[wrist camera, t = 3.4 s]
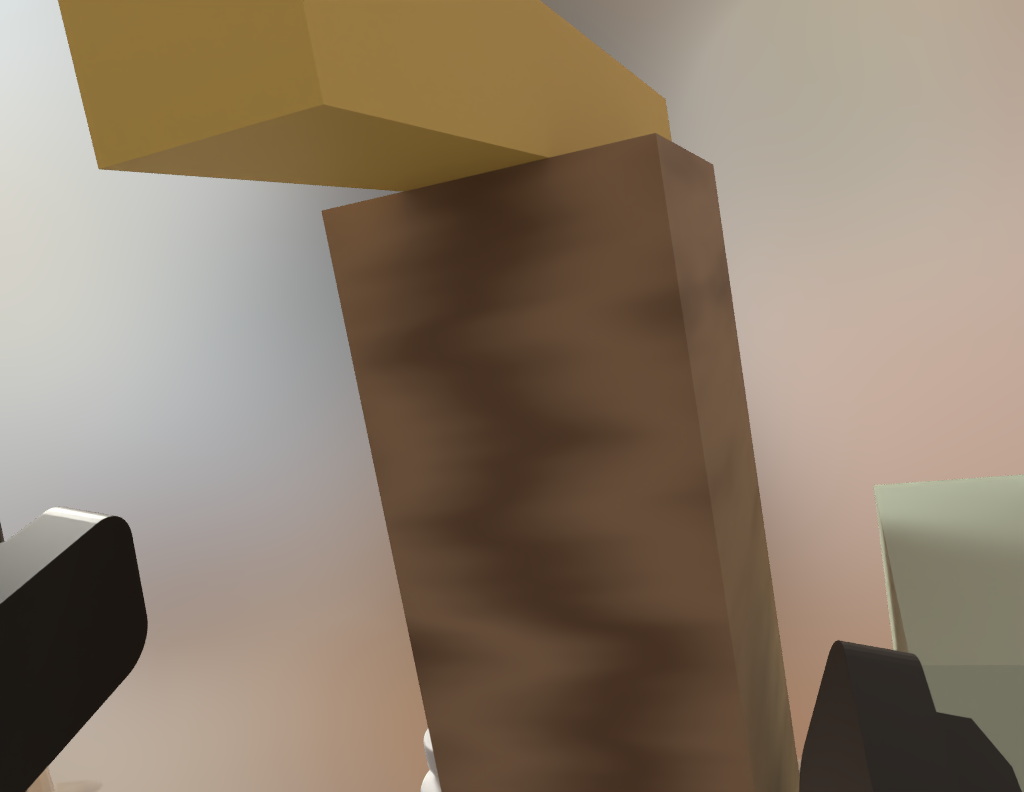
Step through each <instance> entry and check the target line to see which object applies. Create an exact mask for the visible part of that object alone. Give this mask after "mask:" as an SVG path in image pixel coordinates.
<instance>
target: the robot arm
mask: <svg viewBox="0 0 1024 792" xmlns="http://www.w3.org/2000/svg"><path fill="white" fill-rule="evenodd" d="M147 624H148V621H147V614H146V608H145V603H144V597H143V592H142V586H141V581H140V576H139V570H138V564H137V559H136V554H135V548H134V543H133V537H132V533H131V529H130V527H129V525H128V524H127V522H126V521H125V520H124V519H122V518H120V517H118V516H113V515H107V514H101V513H96V512H90V511H84V510H78V509H73V508H67V507H55V508H52V509H49V510H47V511H46V512H44V513H43V514H41V515H40V516H39V517H38V518H36V519H35V520H34V521H32V522H31V523H29V524H28V525H27V526H25V527H24V528H23V529H21V530H20V531H19V532H17V533H16V534H15V535H13V536H12V537H11V538H10V539H8V540H7V541H4V538H3V533H2V528H1V524H0V792H55V790H54V786H53V783H52V779H51V775H50V772H49V769H48V765H49V764H50V763H51V762H52V761H53V760H54V759H55V757H56V756H57V755H58V754H59V753H60V752H61V751H62V750H63V749H64V747H65V746H66V745H67V744H68V743H69V742H70V741H71V739H72V738H73V737H74V736H75V735H76V734H77V733H78V731H79V730H80V729H81V728H82V727H83V726H84V725H85V724H86V722H87V721H88V720H89V719H90V718H91V717H92V716H93V714H94V713H95V712H96V711H97V710H98V709H99V707H101V705H102V704H103V703H104V702H105V701H106V700H107V699H108V697H109V696H110V695H111V694H112V693H113V692H114V691H115V689H116V688H117V687H118V686H119V685H120V684H121V683H122V681H123V680H124V679H125V678H126V677H127V676H128V675H129V673H130V672H131V671H132V669H133V668H134V666H135V665H136V663H137V661H138V659H139V657H140V655H141V652H142V650H143V647H144V644H145V640H146V636H147V626H148V625H147ZM799 792H1022V790H1021V788H1020V785H1019V783H1018V780H1017V778H1016V775H1015V773H1014V770H1013V768H1012V766H1011V765H1010V764H1009V762H1008V761H1007V760H1006V759H1005V758H1004V756H1003V755H1002V754H1001V753H1000V752H999V750H998V749H997V748H996V747H995V746H994V745H993V743H992V742H991V741H990V740H989V739H988V737H987V736H986V735H985V734H984V733H983V731H982V730H981V729H980V728H979V727H978V726H977V724H976V723H975V722H974V721H973V720H972V718H966V717H961V716H956V715H950V714H945V713H940V712H936V709H935V706H934V702H933V699H932V696H931V693H930V690H929V687H928V683H927V680H926V677H925V674H924V671H923V667H922V665H921V662H920V660H919V659H918V657H917V656H916V655H915V654H912V653H907V652H902V651H896V650H890V649H884V648H878V647H873V646H867V645H861V644H856V643H850V642H844V641H839V640H838V641H835V643H834V644H833V645H832V647H831V650H830V652H829V656H828V659H827V663H826V666H825V671H824V674H823V678H822V681H821V685H820V689H819V693H818V696H817V700H816V704H815V707H814V711H813V715H812V718H811V722H810V726H809V730H808V734H807V737H806V741H805V745H804V749H803V754H802V760H801V769H800V781H799Z"/></svg>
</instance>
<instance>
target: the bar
mask: <svg viewBox="0 0 1024 792" xmlns="http://www.w3.org/2000/svg"><path fill="white" fill-rule="evenodd" d="M58 2H59V6H60V10H61V15H62V19H63V23H64V27H65V31H66V35H67V40H68V44H69V48H70V52H71V56H72V60H73V64H74V68H75V73H76V77H77V81H78V85H79V89H80V93H81V98H82V102H83V106H84V110H85V114H86V118H87V122H88V127H89V131H90V135H91V139H92V143H93V147H94V151H95V155H96V160H97V164H98V168H99V169H104V170H119V171H131V172H145V173H158V174H172V175H185V176H199V177H213V178H226V179H241V180H253V181H254V180H255V181H267V182H282V183H294V184H309V185H322V186H335V187H351V188H363V189H377V190H390V191H409V190H413V189H417V188H421V187H426V186H430V185H434V184H439V183H443V182H447V181H451V180H456V179H460V178H464V177H469V176H473V175H477V174H481V173H486V172H490V171H494V170H499V169H503V168H507V167H511V166H516V165H520V164H524V163H529V162H533V161H537V160H541V159H546V158H550V157H554V156H559V155H563V154H567V153H571V152H576V151H580V150H584V149H589V148H593V147H597V146H601V145H606V144H610V143H614V142H619V141H623V140H627V139H631V138H636V137H640V136H644V135H649V134H653V133H657V134H659V135H660V136H662V137H664V138H666V139H668V140H669V141H671V134H670V127H669V120H668V114H667V107H666V100H665V98H663V97H662V96H661V95H659V94H658V93H657V92H656V91H654V90H653V89H652V88H651V87H649V86H648V85H647V84H645V83H644V82H643V81H642V80H640V79H639V78H638V77H637V76H635V75H634V74H633V73H632V72H630V71H629V70H628V69H626V68H625V67H624V66H623V65H621V64H620V63H619V62H618V61H616V60H615V59H613V58H612V57H611V56H610V55H609V54H607V53H606V52H605V51H604V50H602V49H601V48H600V47H599V46H597V45H596V44H595V43H593V42H592V41H591V40H590V39H588V38H587V37H586V36H584V35H583V34H582V33H581V32H579V31H578V30H577V29H576V28H574V27H573V26H572V25H570V24H569V23H568V22H566V21H565V20H564V19H563V18H562V17H560V16H559V15H558V14H557V13H555V12H554V11H553V10H552V9H550V8H549V7H548V6H546V5H545V4H544V3H542V2H541V1H540V0H58ZM671 142H672V141H671Z"/></svg>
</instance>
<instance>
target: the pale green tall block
mask: <svg viewBox="0 0 1024 792" xmlns="http://www.w3.org/2000/svg"><path fill="white" fill-rule="evenodd" d="M874 492H875V501H876V508H877V516H878V526H879V534H880V542H881V550H882V559H883V567H884V575H885V583H886V592H887V600H888V608H889V615H890V625H891V633H892V641H893V649H894V650H896V651H902V652H907V653H912V654H915V655H916V656H917V657H918V659H919V660H920V662H921V665H922V667H923V671H924V674H925V677H926V680H927V683H928V687H929V690H930V693H931V696H932V699H933V702H934V706H935V709H936V712H940V713H945V714H950V715H956V716H961V717H966V718H972V720H973V721H974V722H975V723H976V724H977V726H978V727H979V728H980V729H981V730H982V731H983V733H984V734H985V735H986V736H987V737H988V739H989V740H990V741H991V742H992V743H993V745H994V746H995V747H996V748H997V749H998V750H999V752H1000V753H1001V754H1002V755H1003V756H1004V758H1005V759H1006V760H1007V761H1008V762H1009V764H1010V765H1011V766H1012V768H1013V770H1014V773H1015V775H1016V778H1017V780H1018V783H1019V785H1020V788H1021V790H1022V792H1024V475H1011V476H997V477H983V478H969V479H955V480H941V481H927V482H913V483H898V484H886V485H885V484H884V485H874Z"/></svg>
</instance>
